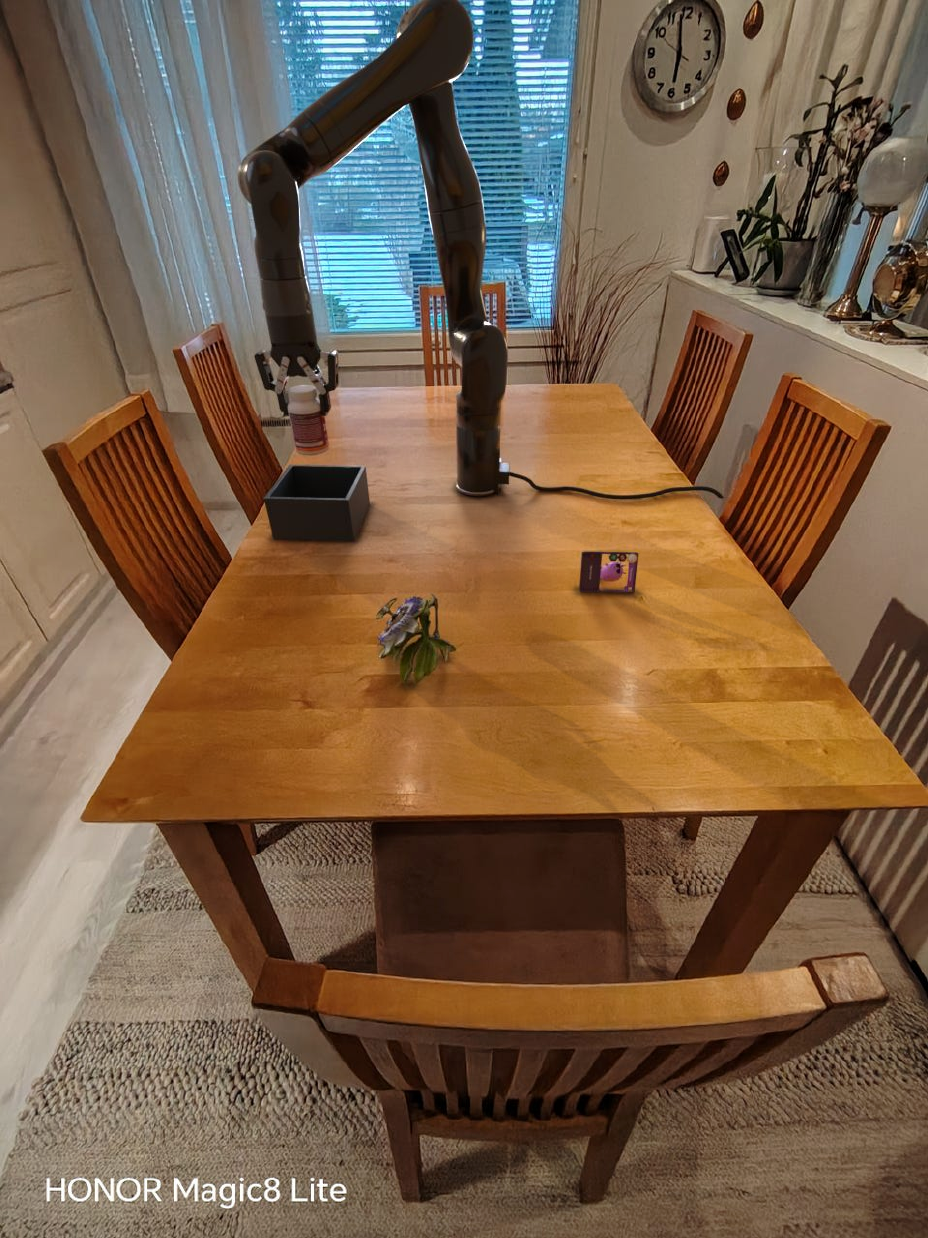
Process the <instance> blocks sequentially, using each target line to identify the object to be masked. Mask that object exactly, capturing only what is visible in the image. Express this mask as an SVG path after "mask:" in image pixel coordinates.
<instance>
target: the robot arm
mask: <svg viewBox="0 0 928 1238" xmlns="http://www.w3.org/2000/svg"><path fill="white" fill-rule="evenodd" d="M468 12H469V11H467V9H466V8H465V6H464V5H463V3H461V2H460V1H459V0H419V1H418V2H416V3H415V4H413V5H411V7H408V8H407V9H406V11H405V12H403V14H402V16H401V18H400V20H399V22H398V25H397V28H396V32H395V34H396V35H395V39H394V41H393V42H392V43H391V44H390V45H388V47H387V48H386V49H385V50H383V51H382V52H381V53H380V54H379V55H378V56H376V57H375V58H374V59H372V60H371V61H370V62H369V63H367V64H366V65H364V66H363V67H362V68H360V69H359V70H357V71H356V72H354V73H352V74H351V75H350V76H348V77H346V78H345V79H344V80H342V81H340V82H339V83H337V84H336V85H334V86H333V87H331V88H330V89H328V90H327V91H326V92H324V93H323V94H322V95H320V96H319V97H318V98H317V99H316V100H314V102H312V103H310V104H309V105H308V106H307V107H306V108H305V109H303V110H302V111H301V112H300V113H299V114H298V115H297V116H295V117H294V118H293V120H292V121H291V122H290V123H289V124H288V125H287V126H286V127H284V128H283V129H282V130H280V131H279V132H277V133H276V134H274V135H273V136H271V137H269V138H267V140H265V141H263V142H262V143H261V144H259V145H258V146H257V147H255V148H254V149H252V150H251V151H250V152H248V154H246V155H245V156H244V157H243V158H242V160H241V162H240V163H239V166H238V171H237V182H238V188H239V190H240V192H241V194H242V196H243V197H244V199H245V200H246V201H247V202H248V203H249V204H250V206H251V211H252V219H253V223H254V229H255V236H254V240H253V241H254V242H253V245H254V254H255V259H256V260H255V261H256V265H257V271H258V275H259V281H260V294H261V300H262V308H263V311H264V316H265V320H266V325H267V331H268V338H269V341H270V350H264V349H261V350H259V351H257V352H256V353H255V354H254V361H255V363H256V366H257V370H258V373H259V376H260V379H261V383H262V385H263V388H264V390H266V391H271V392H274V393H275V394H276V398H277V401H278V407H279V411H280V412H281V413H283V416H289V413H288V404H289V402H290V401H291V400H290V396H289V390H286V388H287V385H288V382H289V379H290V378H294V377H297V376H298V377H301V378H308V379H309V381H310V383H312V384H313V386H315V387H316V391H317V392H319V393H318V399H319V401H320V407H321V414H322V416H325V417H327V416H328V414H329V412H330V411H331V410H332V402H331V397H330V392H334V391H336V389H337V388H338V387H339V384H340V378H339V374H340V373H339V353H338V351H337V350H335V349H333V350H332V351H325V350H322V349H321V348H320V346H319V343H318V336H317V330H316V323H315V315H314V311H313V310H314V309H313V303H312V297H311V291H310V288H309V284H308V280H307V279H308V278H307V273H306V267H305V261H304V253H303V250H302V249H303V248H302V245H301V244H302V243H301V212H300V197H299V189H300V188H301V187H302V186H304V185H306V183H307V182H309V181H310V180H312V179H313V178H317V177H319V176H322V175H323V174H325V173H327V172H328V171H330V170H331V169H332V168H333V167H334V166H336V165H337V164H338V163H340V161H342V160H343V159H344V158H345V157H346V156H348V155H349V154H350V153H351V152H353V151H354V149H356V148H358V146H359V145H361V144H362V143H363V142H364V141H365V140H366V139H368V138H369V136H371V135H372V134H373V133H374V132H375V131H376V130H377V129H379V127H381V126H382V125H383V124H385V123H386V122H387V121H388V120H390V119H391V118H392V117H393V116H394V115H395V114H397V113H398V112H399V111H400V110H402V109H404V108H405V107H406V106H407V105H408V107H409V111H410V114H411V119H412V123H413V127H414V132H415V137H416V142H417V148H418V149H417V150H418V155H419V161H420V168H421V173H422V178H423V179H422V180H423V185H424V190H425V198H426V205H427V211H428V218H429V222H430V227H431V232H432V238H433V242H434V248H435V252H436V258H437V264H438V269H439V274H440V277H441V283H442V288H443V292H444V299H445V307H446V319H447V331H448V344H449V349H450V353H451V355H452V358H453V360H454V361H455V362H456V364H457V365H458V366H460V367H461V387H460V391H458V392H457V393H456V396H455V440H456V441H455V443H456V444H455V446H456V447H455V449H456V452H455V453H456V490H457V491H458V492H459V493H460V494H462V495H466V496H469V497H487V496H491V495H498V494H499V493H500V487H501V486H500V485H509V484H510V477H512V478H515V479H519V480H522V481H524V482H526V483H528V484H529V486H531V488H532V489H534V490H537V491H539V492H563V491H566V492H568V491H569V492H576V493H582V494H585V495H589V496H593V497H596V498H600V499H608V500H639V499H640V500H641V499H649V498H654V497H658V496H661V495H665V494H669V493H674V492H675V493H676V492H692V491H701V492H702V491H703V492H708V493H711V494H713V495H715V496H716V497H717V498H718V499H720V500H723V499H725V497H724V496H723V494H722V493H721V492H720V491H719V490H717V489H715V488H713V487H710V486H704V485H695V486H694V485H692V486H674V487H669V488H664V489H661V490H657V491H654V492H648V493H647V492H646V493H639V494H638V493H637V494H623V495H622V494H609V493H602V492H598V491H595V490H590V489H586V488H582V487H578V486H577V487H576V486H571V485H570V486H569V485H568V486H566V485H565V486H553V487H552V486H551V487H545V486H540V485H537V484H535V482H534V481H533V480H532V479H531V478H530V477H527V476H526V475H523V474H519V473H516V472H513V471H510V462H502V458H501V433H502V430H501V429H502V427H501V426H502V403H503V399H504V398H505V394H506V390H507V378H508V364H509V363H508V362H509V349H508V348H509V347H508V341H507V338H506V336H505V334H504V332H503V331H502V329H500V328H499V327H498V326H496V325H494V324H492V323H490V322H489V318H488V315H487V311H486V306H485V299H484V292H483V271H484V264H485V257H486V256H485V255H486V248H487V225H486V216H485V208H484V200H483V194H482V189H481V183H480V180H479V178H478V173H477V171H476V169H475V166H474V164H473V162H472V159H471V156H470V154H469V151H468V149H467V147H466V145H465V142H464V140H463V137H462V134H461V131H460V128H459V123H458V118H457V112H456V104H455V103H456V102H455V97H454V96H455V95H454V94H455V93H454V85H453V81H455V80H456V79H458V78H459V77H460V76H461V75H462V74H463V72H464V71H465V70H466V68H467V67H468V64H469V62H470V59H471V58H472V57H471V56H472V54H473V49H474V28H473V23H472V20H471V17H470V15H469V13H468ZM321 359H322V361H323V363H324V365H325V366H326V367H327V380H326V379H325V377H324V373H323V372H322V370H321V369H320V367H319V365H318V364H319V363H320V360H321ZM272 360H273V361H274V363H275V364H276V365H277V366H278V367H279V370H278V373H277V376H276V381H275V377H274V375H273V371H272V368H271V363H272ZM327 381H328V382H327Z"/></svg>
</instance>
